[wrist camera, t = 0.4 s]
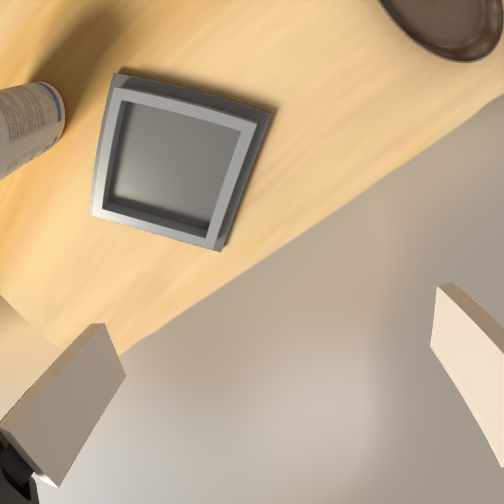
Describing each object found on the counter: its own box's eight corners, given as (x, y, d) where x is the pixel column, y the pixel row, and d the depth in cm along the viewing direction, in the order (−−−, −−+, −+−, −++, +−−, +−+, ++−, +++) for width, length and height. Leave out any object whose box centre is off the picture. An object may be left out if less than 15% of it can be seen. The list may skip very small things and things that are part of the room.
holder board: (117, 73, 28) (106, 73, 25) (271, 113, 31) (273, 116, 29) (91, 211, 37) (82, 221, 34) (221, 248, 40) (220, 261, 38)
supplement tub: (19, 78, 26) (-63, 99, 13) (75, 84, 28) (-7, 103, 15) (11, 147, 31) (-62, 190, 18) (62, 159, 33) (-9, 209, 20)
